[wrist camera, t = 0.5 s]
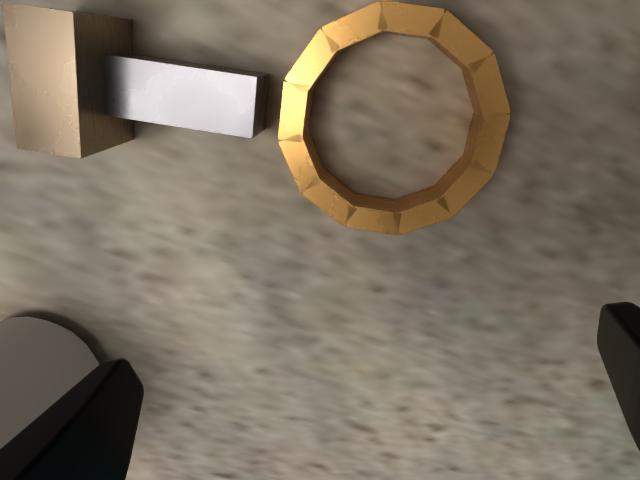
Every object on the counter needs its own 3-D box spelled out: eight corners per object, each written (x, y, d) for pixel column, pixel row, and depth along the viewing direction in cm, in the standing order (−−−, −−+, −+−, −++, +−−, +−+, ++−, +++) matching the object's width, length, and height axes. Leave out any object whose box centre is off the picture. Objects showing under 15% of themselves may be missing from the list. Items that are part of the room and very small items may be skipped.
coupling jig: (682, 122, 20) (760, 141, 16) (168, 298, 26) (129, 345, 22) (597, -404, 15) (680, -577, 11) (-21, -37, 21) (-118, -58, 17)
